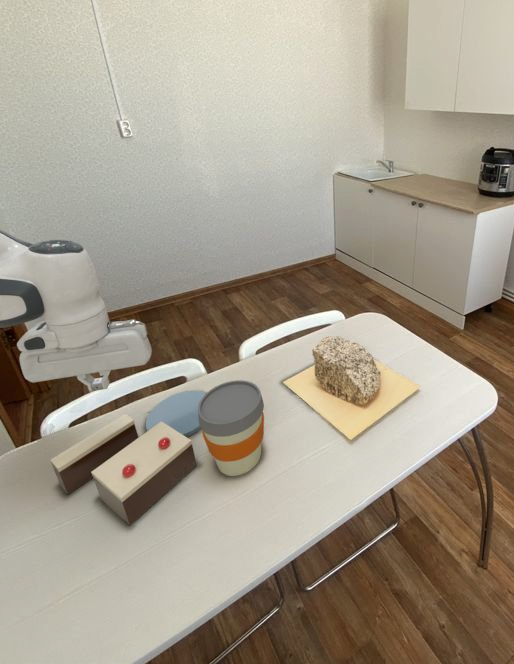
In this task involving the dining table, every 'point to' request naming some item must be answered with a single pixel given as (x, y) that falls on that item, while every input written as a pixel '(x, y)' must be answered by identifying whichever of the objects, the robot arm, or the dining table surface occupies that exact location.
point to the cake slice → (93, 453)
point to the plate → (177, 412)
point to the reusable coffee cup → (233, 425)
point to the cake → (144, 471)
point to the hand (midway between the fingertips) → (99, 388)
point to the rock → (349, 385)
